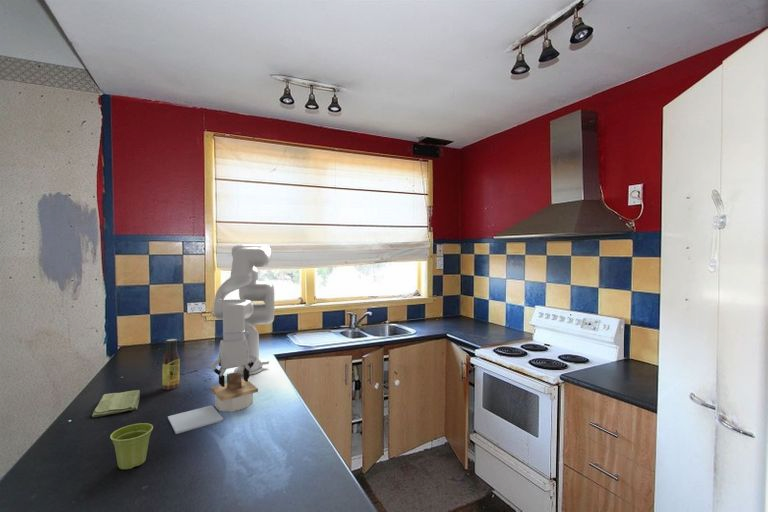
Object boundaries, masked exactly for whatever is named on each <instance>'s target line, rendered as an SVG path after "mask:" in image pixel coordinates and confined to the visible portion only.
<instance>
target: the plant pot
mask: <svg viewBox="0 0 768 512" xmlns="http://www.w3.org/2000/svg"><path fill="white" fill-rule="evenodd" d="M153 430H154V426H153V424H150V423H147V422H145V423H144V422H143V423H141V422H140V423H134V424H130V425H129V424H128V425H126V426H123V427H120V428H118V429H116V430H114V431H113V432H112V433H111V434H110V436H109V438H110V440H111V441H112V444H113V445H114V451H115V455H116V456H115V457H116V462H117V467H118V468H119V469H120V470H132V469H133V468H134V467H139V466H140V465H143V464H144V463H145V462H146V459H147V454H148V447H149V443H150V442H149V441H150V436H151V434H152V431H153Z"/></svg>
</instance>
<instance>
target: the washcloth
mask: <svg viewBox="0 0 768 512" xmlns="http://www.w3.org/2000/svg"><path fill="white" fill-rule="evenodd" d="M140 393H141V391H140V389H137V390H135V389H134V390H129V391H123V392H112V393H111V392H110V393H105V394H103V395H102V396H101V398H100V400H99V402H98V403H97V406H96V407H95V408H94V410H93V412H92V414H91V416H92V418H98V417H105V416H110V415H116V414H120V413H123V412H125V413H126V412H130V411H136V410H138V407H139V403H140V397H141V396H140Z"/></svg>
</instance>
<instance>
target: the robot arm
mask: <svg viewBox="0 0 768 512" xmlns="http://www.w3.org/2000/svg"><path fill="white" fill-rule="evenodd" d="M231 257H232V261H231V262H232V263H231V269H230V277H228V279H226V280H225V281H224V282H223V283H222V284H221V285H220V286H219V287H218V288H217V290H216V293H215V296H214V301H213V310H212V312H213V317H214V318H215V319H217V320H222V339H221V340H220V342H219V347H218V356H217V357H218V358H217V359H216V360H215V361H214V362H212V363H211V364H210V365H209V367H210V369H211V370H212V372H213V373H215V374H216V375H217V376H218V385H221V386H222V387H224V386H225V384H226V382H225V377H226V376H225V375H224V374H225V372H226V370H227V369H228V370H229V369H234V370H233V373H235V372H239V373H240V374H241V375H242V376H243V378H242V380H245V381H246V382H247V381H249V378H250V375H256V374H258V373H261V372H262V371H263V365H265V366H266V365H269V364H270V361H269V359H267V360H264V359H261V360H260V343H259V342H260V339H259V338H260V333H259V331H258V329H257V328H256V325H270V324H272V323H273V322H274V320H275V288H274V287H275V286H274V284H273V283H272V282H271V281H265V280H263V281H260V280H259V271H258V268H266V267H267V266H268V265H269V263H270V261H271V258H272V250H271V248H270V246H269V245H267V244H238V245H234V246H232V248H231ZM236 290H238V297H239V299H225V298H226V297H227V296H228V295H229V294H230V293H232V292H235V291H236ZM252 302H253V303H252ZM254 302H263V303H260V304H257V303H256V304H255V303H254ZM217 366H218V367H219V369H218V368H217Z"/></svg>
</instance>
